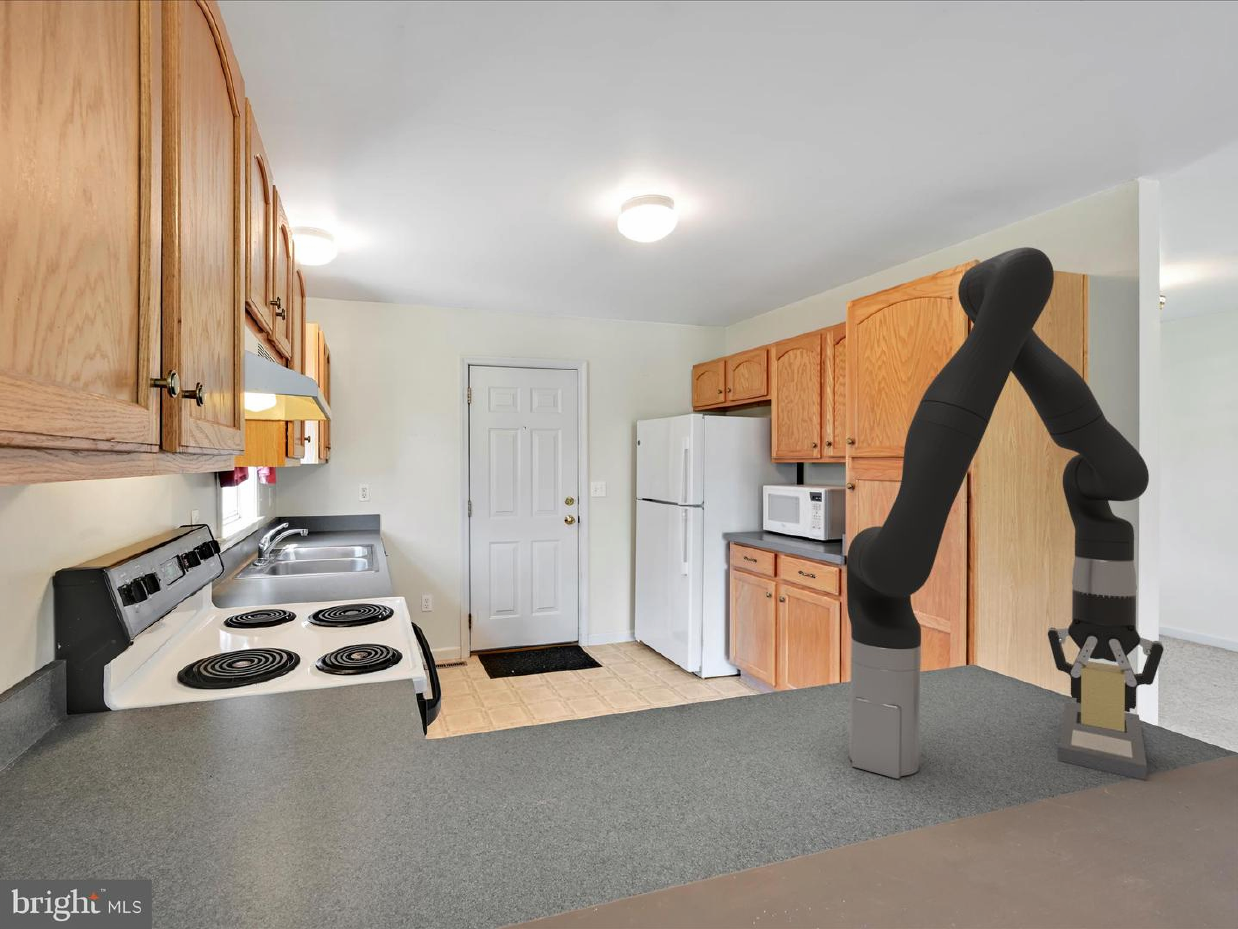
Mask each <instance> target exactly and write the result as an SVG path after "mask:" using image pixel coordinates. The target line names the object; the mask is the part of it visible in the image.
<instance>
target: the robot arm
mask: <svg viewBox="0 0 1238 929" xmlns="http://www.w3.org/2000/svg"><path fill="white" fill-rule="evenodd" d="M1054 280H1055V271H1054V267H1053V264H1052V262H1051V260H1050V258H1049V257H1048V256H1047V254H1046V253H1045V252H1043V251H1042V250H1040V249H1038V248H1035V247H1030V246H1029V247H1027V246H1025V247H1018V248H1014V249H1011V250H1007V251H1004V252H1001V253H1000V254H997V255H995V256H993V257H990V258H988V259H985V260H983V261H981V262H978V263H977V264H975V265H973V266H970V268H969V269H967V271H966V272H965V273H964V274H963V276H962V277H961V279H960V281H959V284H958V289H957V290H958V292H957V296H958V301H959V304H960V306H961V308H962V310H963V312H964V313H965V315H966V316H967V317H968V319H969V320H970V321H971V322H972V324H973V326H972V328H971V330H970V332H969V334H968V336H967V337H966V339H965V340H964V342H963V343H962V344H961V346H960V347H959V348H958V349H957V350H956V352H955V353H954V355H953V356H952V357H951V358H950V359H949V360H948V362H947V363H946V364H945V365H944V366H943V367H942V369H941V370H940V371H939V373H938V374H937V375H936V376H935V378H934V379H933V380H932V381H931V383H930V384H929V386H928V387H927V389H926V390H925V392H924V394H923V395H922V398H921V399H920V401H919V404H918V406H917V408H916V411H915V414H914V415H913V418H912V420H911V423H910V425H909V428H908V431H907V434H906V437H905V441H904V442H905V443H904V450H903V460H902V461H903V462H902V472H901V480H900V486H899V488H898V491H897V492H898V493H897V495H896V498H895V500H894V503H893V505H892V507H891V509H890V511H889V513H888V514H887V517H886V519H885V520H884V523H883V525H882V526H877V525H876V526H871V527H868V528H864V529H863V530H861V531H860V532H858V533H857V534H856V535H855V536H854V538H853V539H852V541H851V542H850V545H849V547H848V550H847V557H846V608H847V615H848V619H849V622H850V632H851V634H850V638H851V640H850V642H851V643H850V683H849V684H850V685H849V686H850V688H849V690H850V691H849V695H850V696H849V698H850V699H849V700H850V701H849V746H848V747H849V749H848V750H849V754H848V755H849V756H848V757H849V759H850V760H851V763H852V764H851V766H852V767H853V768H857V769H861V770H865V771H868V772H872V773H876V774H879V775H883V776H887V777H888V778H889V777H890V778H893V779H900V778H901V777H903V776H910V775H913V774H916V773H917V772H918V771H919V770H920V741H921V740H920V733H921V732H920V731H921V730H920V728H921V726H920V724H921V722H920V721H921V719H920V718H921V668H922V666H921V665H922V664H921V663H922V662H921V660H922V628H921V624H920V623H919V621H918V619H917V617H916V614H915V612H914V609H913V605H912V599H911V595H914V594H915V593H916V592H919V590H920V589H921V588H922V587H923V586H925V583H926V582H927V581H928V580H929V577H930V575H931V572H932V570H933V566H934V564H935V560H936V557H937V554H938V550H939V547H940V544H941V540H942V537H943V534H944V530H945V527H946V524H947V521H948V519H949V518H948V517H949V515H950V513H951V510H952V507H953V505H954V503H955V500H956V498H957V496H958V494H959V492H960V489H961V487H962V485H963V482H964V480H965V478H966V475H967V474H968V470H969V469H970V466H971V464H972V461H973V459H974V457H975V455H976V453H977V451H978V449H979V446H980V444H981V442H982V439H983V438H984V435H985V432H986V430H987V429H988V425H989V424H990V421H991V418H992V416H993V413H994V411H995V408H996V406H997V403H998V400H999V399H1000V396H1001V394H1002V392H1003V389H1004V387H1005V385H1006V383H1007V381H1008V379H1009V377H1010V374H1011V373H1012V374H1013V376H1014V377H1015V378H1016V380H1017V381H1018V383H1019V384H1020V386H1021V387H1022V388H1023V390H1024V391H1025V393H1026V395H1027V397H1028V398H1029V400H1030V402H1031V403H1032V405H1033V408H1034V409H1035V410H1036V412H1037V415H1038V416H1039V417H1040V420H1041V421H1042V423H1043V424H1044V427H1045V428H1046V430H1047V433H1048V434H1049V436H1050V438H1051V439H1052V441H1053V442H1054V443H1055V444H1056V445H1057V446H1058V447H1059V448H1062V449H1065V450H1068V451H1072V452H1075V453H1077V455H1075V456H1074V455H1073V457H1072V458H1070V460H1069V461H1068V462H1067V464H1066V465H1065V467H1064V470H1063V474H1062V482H1061V483H1062V489H1063V493H1064V497H1065V500H1066V504H1067V507H1068V511H1069V514H1070V518H1071V521H1072V524H1073V527H1074V560H1073V567H1072V577H1071V578H1072V579H1071V583H1072V584H1071V585H1072V589H1071V590H1072V591H1071V592H1072V593H1071V594H1072V595H1071V599H1072V602H1071V604H1072V605H1071V609H1072V610H1071V620H1072V621H1071V623H1070V624H1069V626H1068V628H1066V627H1065V628H1056V627H1050V628H1049V629H1048V631H1047V638H1048V642H1049V644H1050V648H1051V653H1052V655H1053V659H1054V660H1053V661H1054V664H1055V667H1056V669H1057V670H1058V671H1060V672H1063V673H1067V674H1068V675H1069V676H1070V677H1069V678H1070V696H1071V698H1072V699H1075V700H1076V701H1075V703H1077V704H1081V668H1082V666H1085V665H1086V664H1087V662H1088V661H1089V660H1090V659H1092V660H1105V661H1108V662H1112V663H1113V662H1114V663H1117V664H1118V665H1117V666H1119V667H1120V670H1121V672H1124V673H1125V712H1127V713H1131V709H1132V710H1135V708H1136V707H1137V688H1138V687H1139V686H1142V685H1148V686H1150V685H1152V684H1153V683H1154V682H1155V677H1156V675H1157V671H1158V668H1159V666H1160V662H1161V659H1162V657H1163V653H1164V645H1163V644H1162V642H1161V641H1160V640H1159V641H1158V640H1154V641H1153V640H1150V639H1147V638H1144V637H1141V635H1140V634H1139V632H1138V631H1137V590H1138V589H1137V588H1138V587H1137V574H1136V568H1135V561H1134V560H1135V530H1134V525H1133V524H1132V523H1131V522H1130V521H1129V520H1127V519H1124V518H1122V517H1120V516H1117V515H1115V514H1114V513H1113V511H1112V509H1111V506H1110V503H1109V501H1112V502H1128V501H1129V502H1130V501H1133V500H1136V499H1138V498H1140V497H1141V496H1142V495H1143V494H1144V493H1145V492H1146V490H1147V488H1148V485H1149V480H1150V479H1149V477H1150V474H1149V469H1148V466H1147V463H1146V461H1145V460H1144V458H1143V456H1142V455H1141V454H1140V453H1139V451H1138V450H1137V449H1136V448H1135V447H1134V446H1133V445H1132V444H1131V443H1130V441H1128V440H1127V439H1126V438H1125V437H1124V436H1123V434H1122V433H1121V432H1120V431H1119V430H1118V429H1117V428H1116V427H1114V425H1113V424H1111V423H1110V422H1109V421H1108V420H1107V419H1106V416H1105V415H1104V412H1103V411H1102V409H1101V407H1100V405H1099V403H1098V401H1097V399H1096V397H1095V395H1094V394H1093V392H1092V390H1091V388H1090V387H1089V386H1088V384H1087V382H1086V381H1085V380H1084V378H1083V377H1082V376H1081V375H1080V374H1079V372H1077V370H1075V368H1074V367H1072V366H1071V365H1070V364H1069V363H1067V362H1066V361H1065V360H1064V359H1063V358H1062V357H1060V356H1059V355H1058V354H1057V353H1055V352H1054V351H1053V350H1052V348H1050V347H1049V346H1048V345H1047V344H1046V343H1045V342H1044V341H1043V340H1042V339H1041V338H1040V337H1039V335H1038V334H1037V333H1036V331H1035V330H1034V329H1033V328H1034V326H1035V325H1036V323H1037V321H1038V320H1039V318H1040V316H1041V314H1042V312H1043V311H1044V309H1045V307H1046V305H1047V304H1048V301H1049V299H1050V297H1051V294H1052V292H1053V287H1054ZM1068 636H1069V637H1070V638H1071V640H1072V641H1073V642H1074V643H1075V644H1076V646H1077V647H1078V648H1079V652H1078V653H1077V655H1076V658H1075V659H1074V662H1073V664H1072V663H1069V662H1067V660H1066V656H1065V652H1064V648H1063V644H1065V643H1066V640H1067V638H1068ZM1138 646H1140V647H1142V652H1143V655H1145V656H1146V659H1145V662H1144V666H1143V670H1142V671H1141V672H1140V673H1134V670H1133V668H1132V666H1131V662H1130V660H1129V658H1128V655H1130V654H1131V652H1133V651H1134V650H1135V649H1136V648H1137V647H1138Z"/></svg>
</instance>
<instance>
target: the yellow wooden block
mask: <svg viewBox="0 0 1238 929" xmlns="http://www.w3.org/2000/svg"><path fill="white" fill-rule="evenodd" d="M1081 724H1086V725H1091V726H1097V727H1102V728H1107V729H1112V730H1117V731H1122V732H1124V727H1125V673H1124V672H1121V670H1120V667H1119V665H1117V664H1109V663H1101V662H1096V661H1095V662H1094V661H1089V660H1088V662H1087V664H1086V665H1085V666H1082V668H1081Z"/></svg>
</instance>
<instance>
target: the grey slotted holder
mask: <svg viewBox="0 0 1238 929" xmlns="http://www.w3.org/2000/svg"><path fill="white" fill-rule="evenodd" d="M1131 718H1132V719H1131ZM1060 728H1061V729H1060V733H1059V739H1058V740H1059V741H1058V746H1057V747H1058V748H1057V749H1058V750H1057V761H1058V762H1063V763H1067V764H1071V765H1076V766H1080V767H1085V768H1090V769H1094V770H1099V771H1102V772H1106V773H1107V772H1108V773H1110V774H1116V775H1120V776H1125V777H1129V778H1133V779H1137V780H1142V781H1146V782H1147V780H1148V779H1147V777H1148V763H1147V759H1146V758H1147V757H1146V751H1145V746H1144V739H1143V732H1142V726H1141V720H1140V715H1139V714H1137V713H1131V712H1125V727H1124V732H1122V731H1117V730H1112V729H1107V728H1102V727H1097V726H1091V725H1086V724H1081V704H1080V703H1076V702H1071V701H1066V700H1065V702H1064V708H1063V717H1062V721H1061V727H1060Z"/></svg>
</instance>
